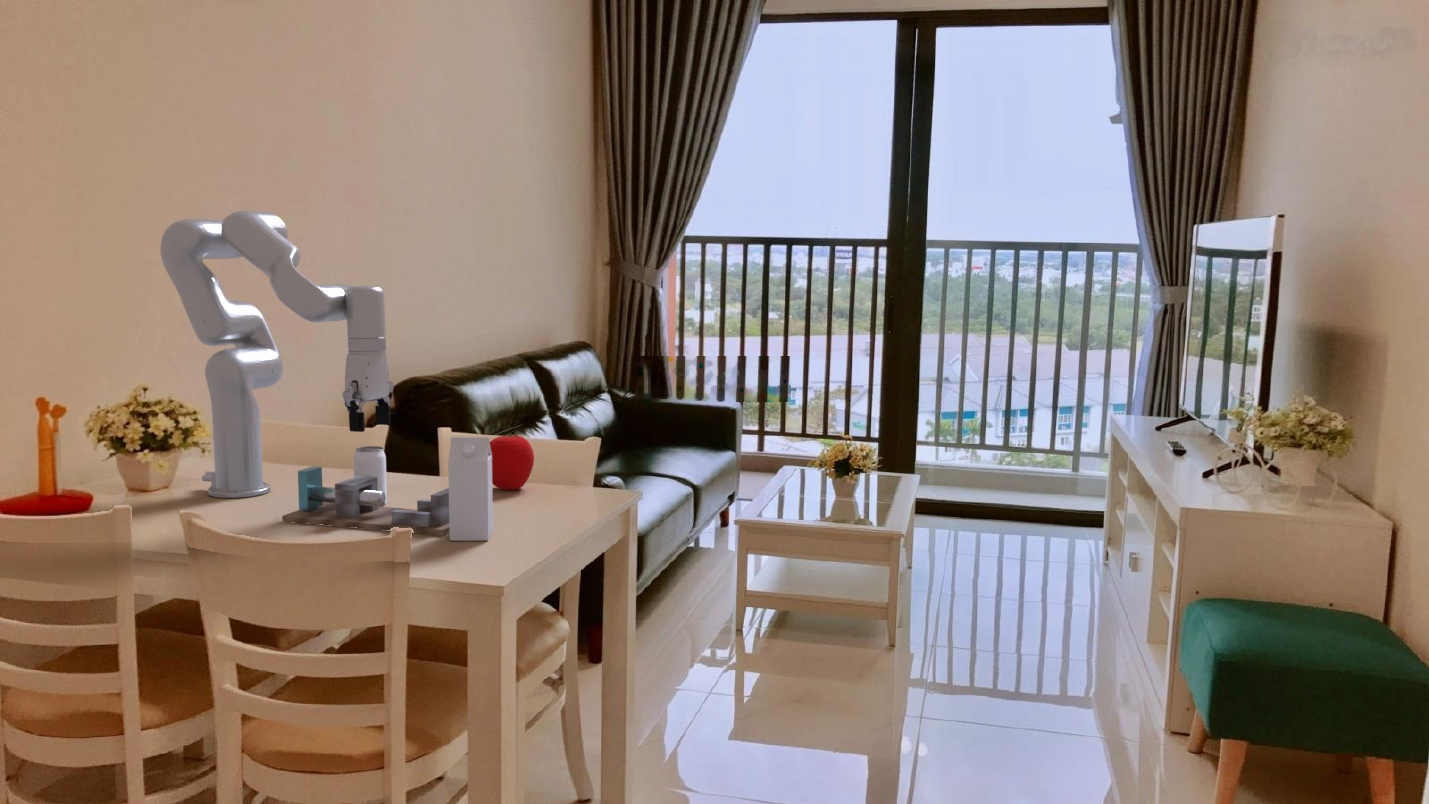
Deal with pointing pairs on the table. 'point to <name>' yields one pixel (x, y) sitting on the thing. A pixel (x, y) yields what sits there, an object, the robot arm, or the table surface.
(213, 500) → the table surface
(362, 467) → the can
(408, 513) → the base plate with brackets
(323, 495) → the shaft
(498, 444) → the tomato
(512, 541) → the table surface
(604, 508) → the table surface
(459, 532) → the milk carton
